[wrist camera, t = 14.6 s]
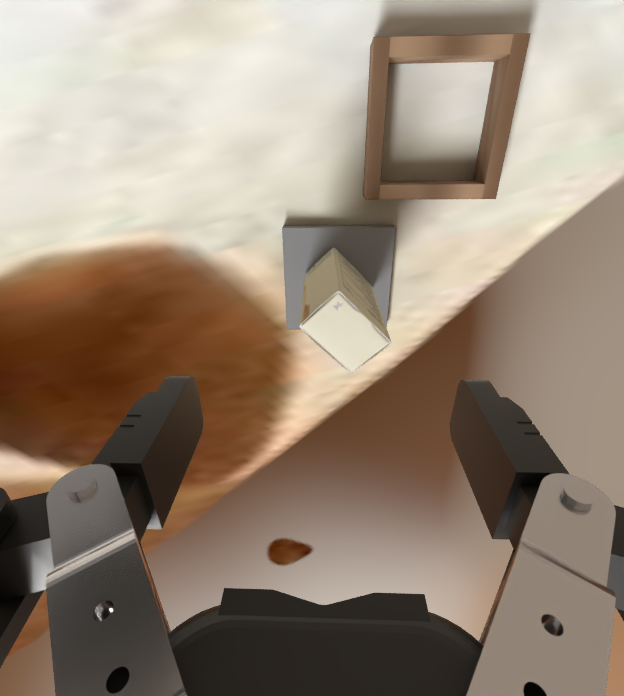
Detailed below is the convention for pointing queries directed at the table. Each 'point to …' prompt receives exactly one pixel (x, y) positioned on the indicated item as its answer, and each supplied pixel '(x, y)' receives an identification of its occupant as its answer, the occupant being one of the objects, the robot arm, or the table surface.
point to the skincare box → (342, 312)
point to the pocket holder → (497, 121)
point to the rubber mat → (353, 243)
